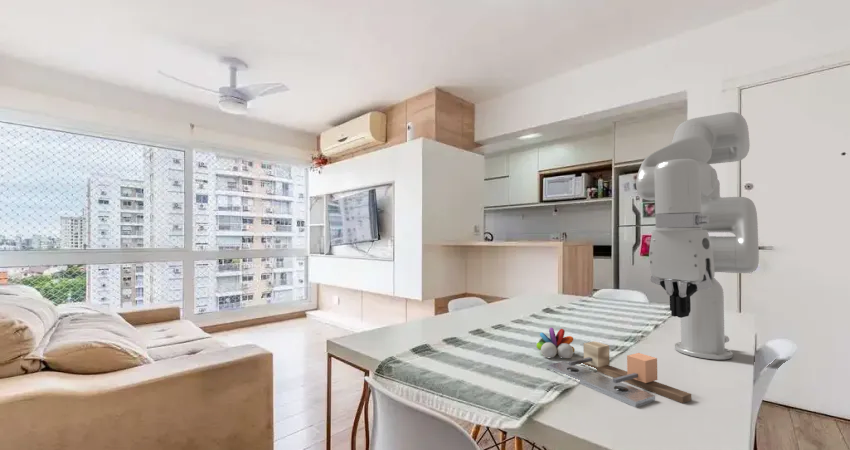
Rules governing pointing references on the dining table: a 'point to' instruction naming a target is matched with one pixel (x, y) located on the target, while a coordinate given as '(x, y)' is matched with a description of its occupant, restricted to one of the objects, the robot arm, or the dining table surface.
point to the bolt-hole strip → (604, 384)
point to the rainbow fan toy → (556, 344)
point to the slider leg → (639, 368)
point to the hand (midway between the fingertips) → (680, 315)
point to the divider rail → (624, 372)
